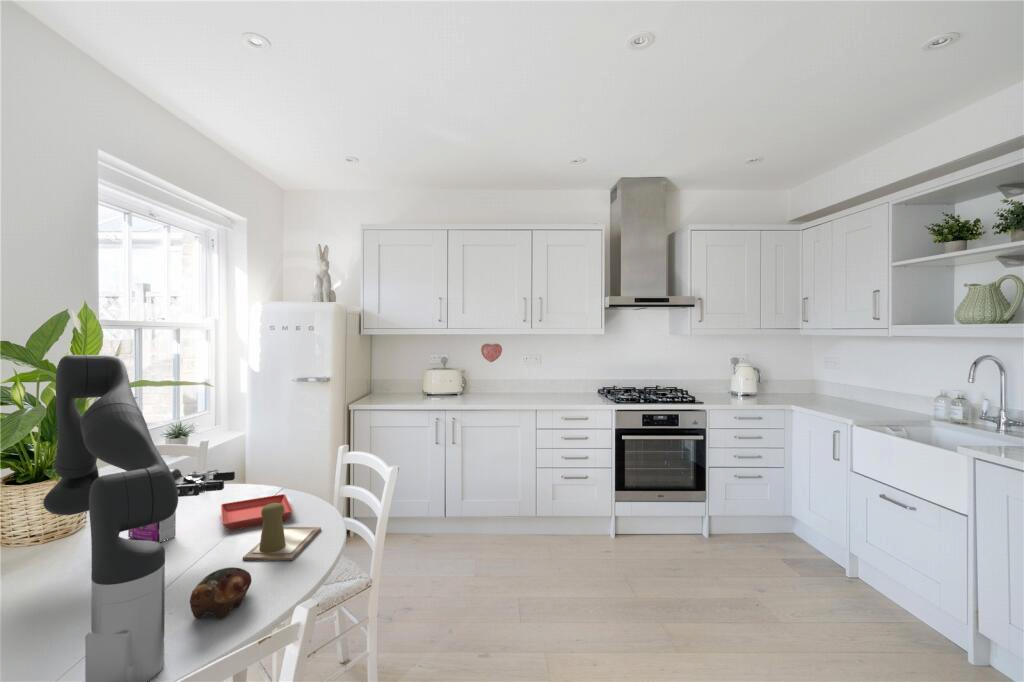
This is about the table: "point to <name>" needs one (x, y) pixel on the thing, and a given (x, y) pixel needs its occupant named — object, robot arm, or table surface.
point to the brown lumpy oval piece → (220, 592)
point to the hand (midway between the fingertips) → (229, 480)
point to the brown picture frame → (294, 544)
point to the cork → (272, 528)
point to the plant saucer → (251, 511)
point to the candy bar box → (155, 530)
